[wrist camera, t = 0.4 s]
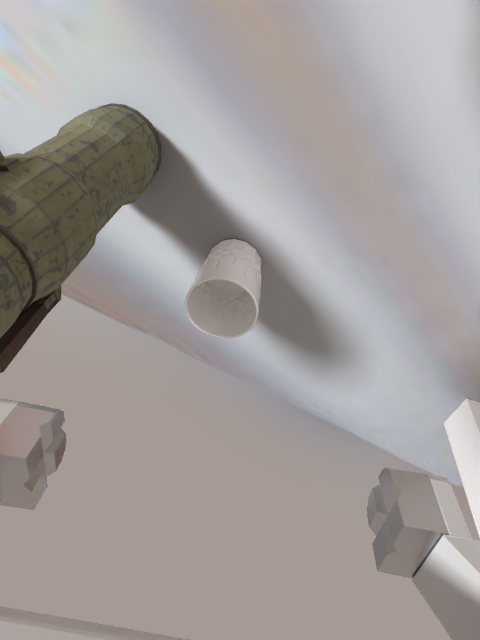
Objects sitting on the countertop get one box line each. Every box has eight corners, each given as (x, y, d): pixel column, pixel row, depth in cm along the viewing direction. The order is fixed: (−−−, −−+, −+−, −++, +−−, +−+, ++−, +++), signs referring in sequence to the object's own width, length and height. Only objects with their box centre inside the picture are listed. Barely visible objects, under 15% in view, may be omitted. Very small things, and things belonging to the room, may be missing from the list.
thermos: (109, 207, 51) (-131, 459, 23) (61, 99, 44) (-355, 273, 17) (178, 192, 49) (3, 452, 21) (138, 76, 42) (-192, 234, 14)
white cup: (231, 299, 57) (218, 349, 49) (190, 256, 54) (169, 302, 46) (279, 269, 53) (273, 317, 45) (238, 221, 50) (224, 263, 42)
